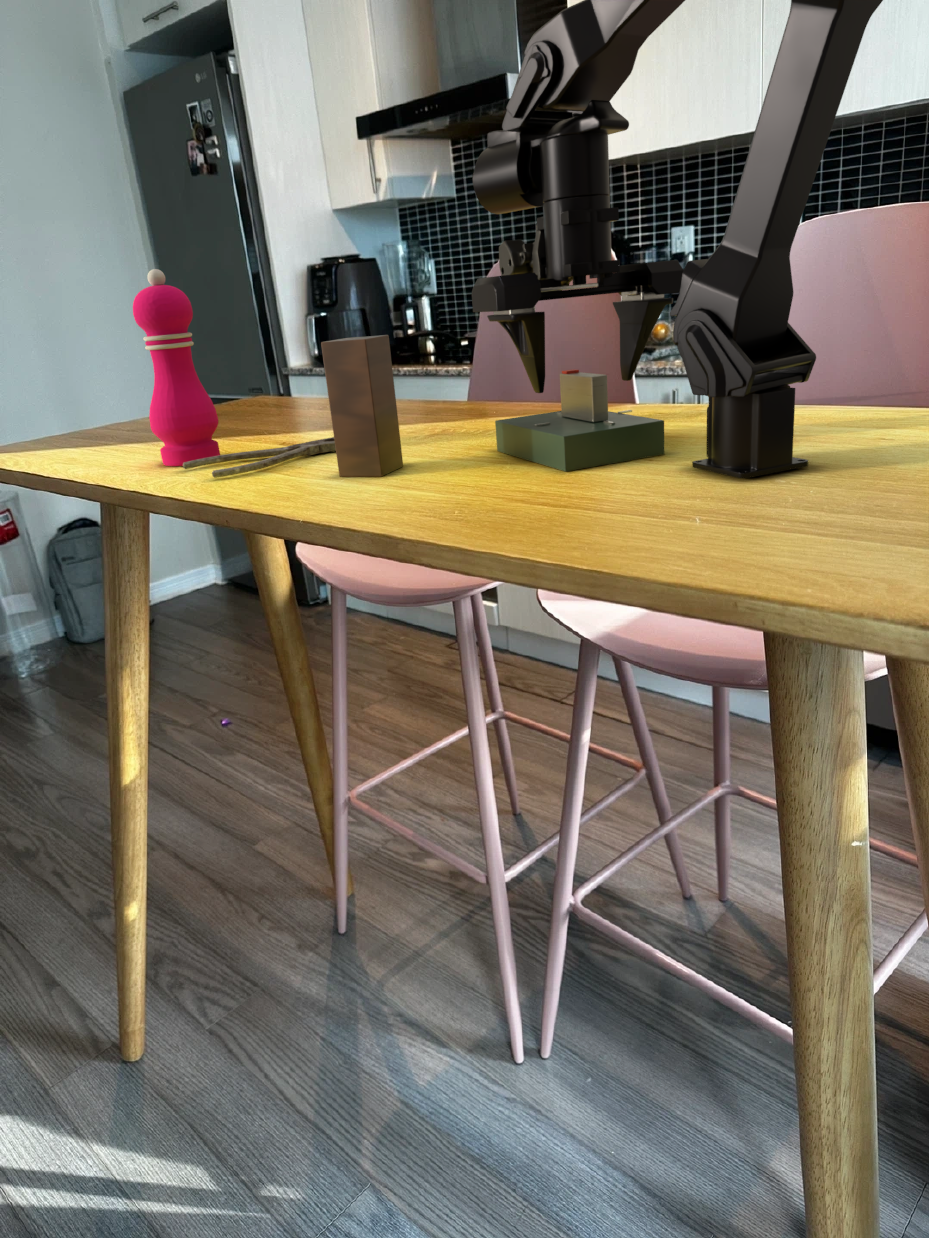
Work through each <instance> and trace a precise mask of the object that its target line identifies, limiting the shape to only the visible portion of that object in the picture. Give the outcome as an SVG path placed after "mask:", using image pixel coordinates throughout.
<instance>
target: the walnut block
mask: <svg viewBox="0 0 929 1238" xmlns="http://www.w3.org/2000/svg"><path fill="white" fill-rule="evenodd" d="M389 337H390V336H389V334H382V335H371V336H369V335H368V336H353V337H345V338H338V339H332V340H326V341H321V342H320V346H321V353H322V354H321V355H322V361H323V367H324V375H325V381H326V382H325V383H326V388H327V397H328V403H329V410H330V411H329V412H330V417H331V419H330V420H331V425H332V431H333V432H332V433H333V437H334V440H335V448H336V450H335V455H336V462H337V468H338V475H339V477H341V478H345V477H346V478H347V477H348V478H349V477H351V478H354V477H355V478H358V477H361V478H362V477H368V478H369V477H373V478H374V477H375V478H376V477H383V476H386V475H388V474H390V473H391V472H395V471H396V470H398V469H400V468H402V467H404V459H403V452H402V451H403V450H402V442H401V434H400V432H401V431H400V424H399V417H398V416H399V415H398V407H397V398H396V389H395V381H394V379H395V378H394V371H393V363H392V354H391V345H390V338H389Z"/></svg>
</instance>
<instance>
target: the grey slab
mask: <svg viewBox="0 0 929 1238" xmlns="http://www.w3.org/2000/svg"><path fill="white" fill-rule="evenodd" d="M559 387H560V389H559V391H560V392H559V393H560V411H561V413H562V417H567V418H573V419H578V420H583V421H588V422H600V421H606V420H608V411H609V393H608V391H609V390H608V374H602V373H601V374H600V373H592V372H581V371H580V369H575V368H574V369H566V370H561V373H559Z"/></svg>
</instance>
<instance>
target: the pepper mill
mask: <svg viewBox="0 0 929 1238" xmlns="http://www.w3.org/2000/svg"><path fill="white" fill-rule="evenodd" d="M147 281H148V283H149V284H150V285H149V286H147V287H144V288H143V289H141V290H140V291H139V292H138V293H137V294H136V295H135V296H134V299H133V303H132V314H133V318H134V321H135V323H136V325H137V326H138V327H139V328H140V329H142V330H143V331H144V333H145V334H146V336H144V337H143V338H142V339H143V341H144V342H145V347H144V349H145V350H146V351H149V353H150V357H151V361H152V367H153V374H154V375H153V377H154V379H153V380H154V381H153V390H152V396H151V401H150V405H149V416H148V419H149V425H150V430H151V432H152V434H154V436H156V437H157V438H158V439H159V440H160V441H161V442H163V444H164V445H163V446H162V447H161V448H160V450H159V451H160V457H161V461H162V464H163V466H166V467H183V463H184V462H188V461H193V460H197V459H202V458H207V457H213V456H219V455H221V451H220V447H219V442H218V440H215V439H213V435H214V433H215V432H216V430H217V428H218V426H219V417H218V412H217V410H216V407H215V405H214V402H213V400H212V398H211V397H210V395H209V394H208V392H207V391H206V389H205V387H204V386H203V384H202V382H201V381H200V379H199V376H198V374H197V371H196V369H195V364H194V361H193V356H192V347H193V346H194V345H195V342H194V341H193V338H192V337H193V333H192V332H190V331H188V329H189V326H190V324H191V322H192V320H193V317H194V311H193V307H192V302H191V300H190V298H189V297H188V296H187V294H186V293H185V292H184V291H183V290H181V289H179V288H178V287H176V286H172V285H168V284H165V283H166V275H165V274H164V272H163V271H162V270H160V269H158V268H152V269H150V271H148V273H147Z"/></svg>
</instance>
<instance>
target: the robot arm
mask: <svg viewBox="0 0 929 1238" xmlns="http://www.w3.org/2000/svg"><path fill="white" fill-rule="evenodd" d="M685 1H686V0H581V1H580V2H577V3H575V4H572V5H571V6H568V7H566V8H564V9H562V10H560V11H559V12H558V13H557V14H555V15H554V16H553V17H552V18H550V19H549V20H548V21H547V22H546V23H544V24H543V25H542V26H541V27H540V28H538V29H537V30H536V31H535V32H534V33H533V35H532V36H531V38H530V39H529V41H528V42H527V44H526V47H525V49H524V53H523V54H524V57H523V59H522V60H523V61H522V63H521V66H520V69H519V72H518V76H517V78H516V81H515V85H514V87H513V91H512V93H511V96H510V98H509V100H508V103H507V104H506V107H505V109H506V112H505V114H504V118H503V121H502V124H501V129H502V130H493V131H489V132H488V133H487V134H486V142H487V143H486V144H487V148H485V149H484V150H483V151H482V152H481V153H480V154H479V156H478V158H477V159H476V163H475V164H474V171H473V173H472V185H473V190H474V193H475V196H476V199H477V200H478V202H479V204H480V205H481V206H482V207H483V208H484V210H486V211H488V212H489V213H491V214H494V215H502V214H508V213H512V212H518V211H519V212H520V211H523V210H529V209H535V208H539V207H542V212H543V213H542V214H543V216H540V217H536V224H535V237H534V241H533V242H531V243H530V242H528V243H524V241H523V240H522V239H511V240H510V239H509V240H504V241H503V242H502V243H500V245H499V246H498V266H499V267H498V268H499V271H500V275H493V276H487V277H480V278H477V279H476V281H475V283H474V285H472V290H471V302H472V303H471V304H472V313H489V312H491V313H492V312H493V314H488V315H487V316H486V317H487V319H488V321H489V322H497V323H499V325H500V326H501V327H502V328H503V329H504V330H505V331H506V333H507V334H508V335H509V337H510V339H511V341H512V342H513V345H514V346H515V348H516V351H517V353H518V355H519V357H520V360H521V363H522V365H523V367H524V369H525V372H526V375H527V377H528V379H529V383H530V385H531V387H532V389H533V391H534V393H535V394H543V393H544V391H545V382H546V320H545V319H546V313H545V311H536V305H537V304H538V302H540V301H551V300H561V299H571V298H579V297H591V296H600V295H601V296H602V295H607V294H608V295H610V294H619V295H620V297H621V300H620V301H612V305H613V308H614V310H615V313H616V316H617V318H618V321H619V367H620V375H621V380H622V381H625V382H629V381H632V379H633V378H634V377H633V376H634V374H635V373H636V369H637V367H638V365H639V362H640V360H641V358H642V355H643V353H644V350H645V349H646V345H647V343H648V340H649V339H650V336H651V334H652V332H653V330H654V328H655V326H656V325H657V322H658V321H659V319H660V317H661V315H662V313H663V311H664V309H665V307H666V306H667V305H672V304H674V297H665V295H669V294H676V293H677V294H678V295H677V296H678V297H677V299H676V302H675V304H674V306H673V307H672V308H671V310H670V312H669V316H670V317H675V319H674V322H673V328H672V342H673V344H674V345H675V346H676V348H677V351H678V353H679V356H680V357H681V360H682V362H683V366H684V370H685V372H686V376H687V380H688V383H689V386H690V390H691V393H692V394H693V395H694V396H706V397H707V398H708V406H707V407H706V457H707V458H703V459H702V458H701V459H697V460H693V461H692V462H691V463H692V465H691V467H692V468H694V469H696V470H697V469H698V470H702V471H705V472H706V471H707V472H710V473H716V474H720V475H724V476H729V477H732V478H736V479H750V478H754V477H759V476H766V475H769V474H774V473H780V472H781V473H782V472H786V471H790V470H791V471H792V470H795V469H801V468H807V467H808V466H809V459H805V458H800V457H795V456H794V435H795V434H794V433H795V431H794V429H795V410H796V408H795V407H796V387H791V386H790V385H792V384H793V385H794V384H798V383H799V384H802V383H806V382H808V381H809V379H810V377H811V374H812V371H813V369H814V366H815V363H816V360H817V354H816V353H815V352H814V350H813V349H812V348H811V347H810V346H809V345H808V344H807V342H806V341H805V340H804V339H803V338H802V337H801V335H800V334H799V332H797V331H796V329H795V328H794V327H793V326H792V325H791V324H790V322H789V318H790V313H791V308H792V303H793V299H794V284H793V276H792V267H791V265H792V264H791V251H792V246H793V243H794V241H795V238H796V237H795V236H796V234H797V231H798V228H799V226H800V222H801V220H802V218H803V217H802V216H803V214H804V211H805V208H806V205H807V202H808V199H809V197H810V194H811V190H812V187H813V185H814V181H815V179H816V175H817V173H818V170H819V167H820V164H821V160H822V158H823V156H824V155H823V154H824V152H825V148H826V146H827V143H828V141H829V137H830V134H831V131H832V129H833V125H834V123H835V120H836V117H837V115H838V114H837V113H838V111H839V108H840V104H841V101H842V98H843V96H844V92H845V90H846V87H847V84H848V81H849V78H850V75H851V72H852V70H853V67H854V64H855V60H856V58H857V55H858V52H859V48H860V47H861V44H862V43H861V42H862V40H863V37H864V34H865V31H866V28H867V25H868V24H869V21H870V20H871V17H872V16H873V14H874V13H875V12H876V10H877V9H878V8H879V7H880V5H882V2H884V0H790V7H789V13H788V17H787V21H786V24H785V28H784V31H783V33H782V37H781V40H780V44H779V48H778V51H777V54H776V58H775V61H774V65H773V67H772V72H771V75H770V78H769V82H768V84H767V85H768V86H767V88H766V92H765V95H764V99H763V102H762V105H761V109H760V113H759V116H758V120H757V123H756V126H755V129H754V132H753V135H752V139H751V142H750V145H749V149H748V153H747V157H746V160H745V163H744V165H743V166H744V167H743V170H742V173H741V177H740V179H739V184H738V187H737V191H736V194H735V197H734V200H733V203H732V208H731V211H730V214H729V218H728V221H727V224H726V228H725V232H724V234H723V236H722V239H721V242H720V243H719V245H718V246H717V248H715V250H714V251H713V252H712V254H711V255H710V256H709V258H705V259H694V260H693V259H692V260H688V261H687V262H686V264H685V266H684V269H683V267H682V265H681V263H680V262H679V260H678V259H674V260H673V259H671V260H670V259H669V260H663V261H662V260H661V261H649V262H640V263H639V262H638V263H631V264H622V265H621V259H613V257H612V226H611V225H612V223H611V222H617V221H619V220H620V217H619V216H620V214H619V207H611V193H610V190H611V189H610V156H609V155H610V154H609V135H613V134H618V133H621V132H625V131H627V130H628V129H629V128H630V122H629V120H628V119H627V118H626V117H624V115H622V114H621V113H619V112H618V111H617V110H616V109H615V108H614V107H613V105H612V103H611V100H612V99H613V98H614V97H615V95H617V93H618V92H619V90H620V88H621V87H622V86H623V85H624V83H625V82H626V81H627V79H628V78H629V77H630V76H631V75H632V72H633V69H634V67H635V64H636V59H637V56H638V53H639V50H640V49H641V47H642V46H643V45H644V43H645V42H646V41H647V40H648V38H649V37H650V36H651V35H652V34H653V33H654V32H655V31H656V30H657V29H658V28H659V27H660V26H661V25H662V24H663V23H665V21H666V20H668V18H669V17H670V16H671V15H672V14H673V13H674V12H675V11H676V10H678V8H679V7H681V5H682V4H683V3H684V2H685ZM538 108H540V109H538ZM542 109H543V110H542ZM587 276H589V278H588V279H591V280H592V279H596V282H589V283H587ZM571 282H572V284H571Z"/></svg>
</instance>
